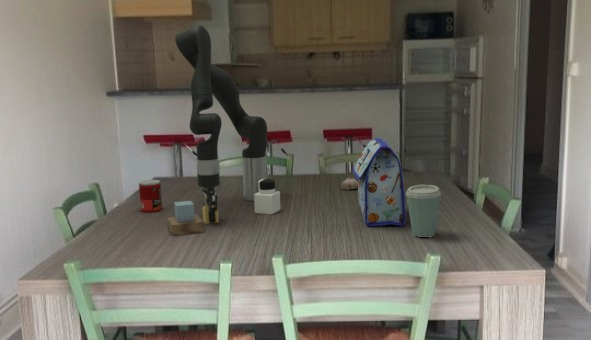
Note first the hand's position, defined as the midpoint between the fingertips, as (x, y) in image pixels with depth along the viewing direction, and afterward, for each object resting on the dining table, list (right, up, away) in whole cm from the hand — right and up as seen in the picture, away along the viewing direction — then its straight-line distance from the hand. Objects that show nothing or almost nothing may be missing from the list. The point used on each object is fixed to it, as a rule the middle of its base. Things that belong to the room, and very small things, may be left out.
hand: (210, 220), depth 196 cm
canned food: (-25, +2, +18) cm, 31 cm away
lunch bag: (+58, +1, -1) cm, 58 cm away
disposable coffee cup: (+68, -3, -22) cm, 72 cm away
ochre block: (0, 0, 0) cm, 0 cm away
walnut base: (-7, -2, -10) cm, 12 cm away
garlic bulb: (+53, +9, +46) cm, 71 cm away
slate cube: (-7, +1, -10) cm, 13 cm away
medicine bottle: (+19, +2, +11) cm, 22 cm away
